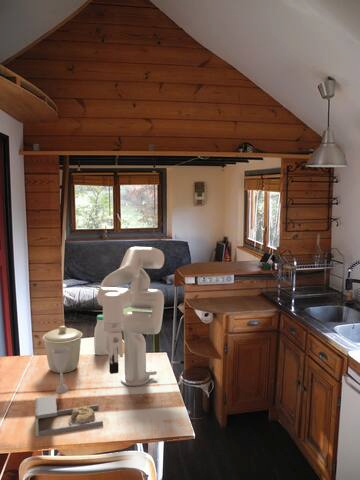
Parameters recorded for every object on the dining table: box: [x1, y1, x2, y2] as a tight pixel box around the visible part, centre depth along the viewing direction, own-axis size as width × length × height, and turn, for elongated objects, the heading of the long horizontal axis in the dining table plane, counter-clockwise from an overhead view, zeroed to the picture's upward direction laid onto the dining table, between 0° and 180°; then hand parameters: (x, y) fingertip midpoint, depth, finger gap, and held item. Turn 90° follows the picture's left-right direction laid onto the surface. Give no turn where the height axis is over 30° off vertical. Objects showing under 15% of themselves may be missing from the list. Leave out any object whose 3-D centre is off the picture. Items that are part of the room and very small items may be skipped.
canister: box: [42, 325, 83, 374], centre depth 206 cm, size 18×18×21 cm
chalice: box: [52, 347, 69, 394], centre depth 184 cm, size 7×7×18 cm
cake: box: [68, 406, 96, 426], centre depth 162 cm, size 10×10×5 cm
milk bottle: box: [93, 314, 108, 356], centre depth 225 cm, size 8×8×20 cm
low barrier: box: [34, 395, 104, 437], centre depth 161 cm, size 23×13×8 cm, turn 108°
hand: (114, 372), depth 164 cm, fingers closed
